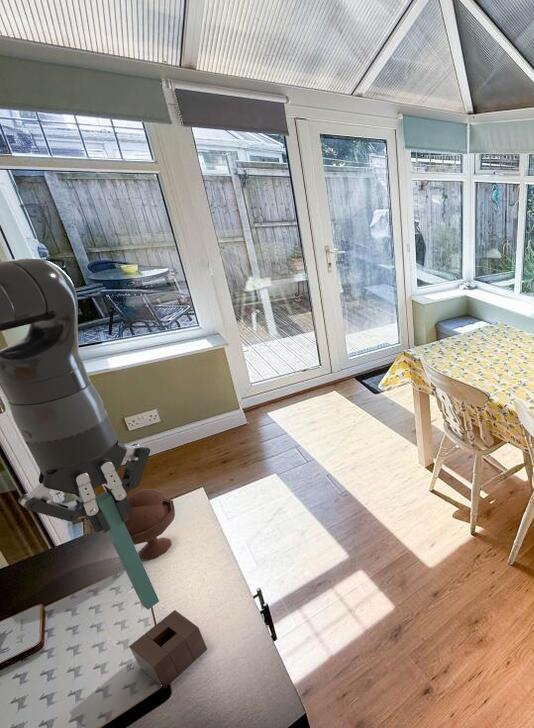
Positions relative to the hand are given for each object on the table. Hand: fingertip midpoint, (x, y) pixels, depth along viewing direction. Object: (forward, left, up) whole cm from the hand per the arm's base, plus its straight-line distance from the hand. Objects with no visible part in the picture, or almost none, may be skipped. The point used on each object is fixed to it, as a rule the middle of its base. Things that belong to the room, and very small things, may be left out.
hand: (113, 523), depth 58 cm
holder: (0, 0, -31) cm, 31 cm away
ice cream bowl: (-11, +27, -31) cm, 43 cm away
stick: (0, 0, -17) cm, 17 cm away
